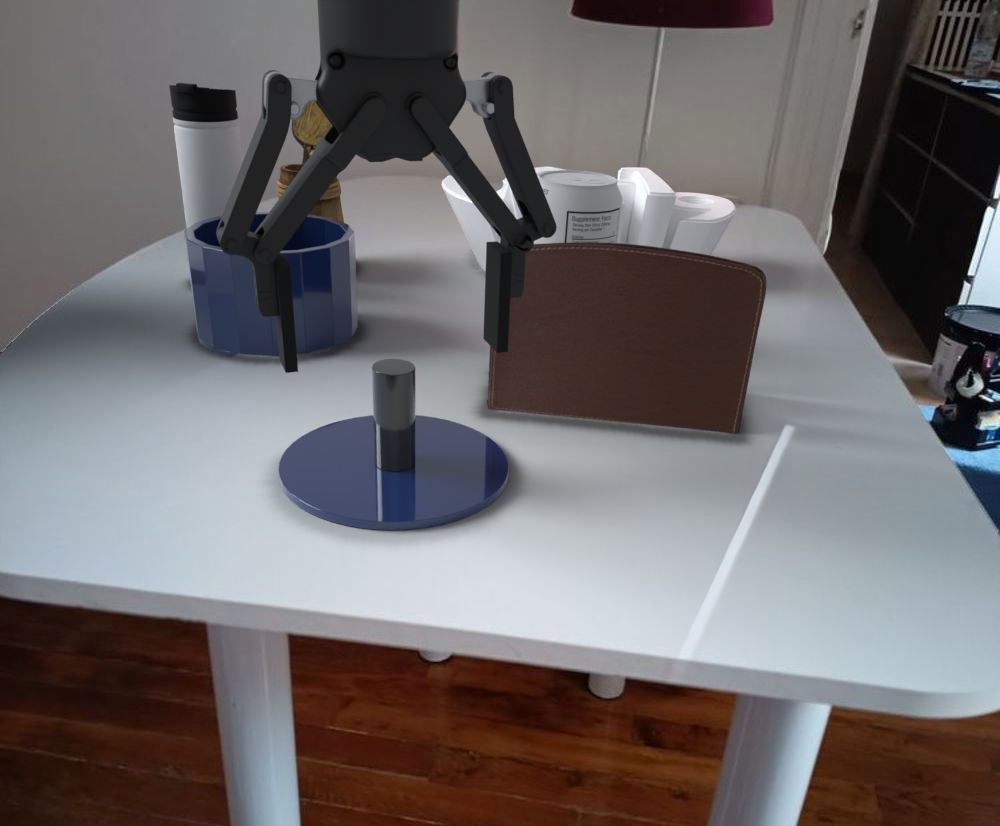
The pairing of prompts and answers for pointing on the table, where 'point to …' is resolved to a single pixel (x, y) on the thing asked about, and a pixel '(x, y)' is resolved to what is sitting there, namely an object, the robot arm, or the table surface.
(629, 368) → the letter holder
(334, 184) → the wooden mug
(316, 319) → the pot
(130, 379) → the table surface
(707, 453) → the table surface
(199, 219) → the travel mug
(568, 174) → the supplement can
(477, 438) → the lid
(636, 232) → the wavy white extrusion
